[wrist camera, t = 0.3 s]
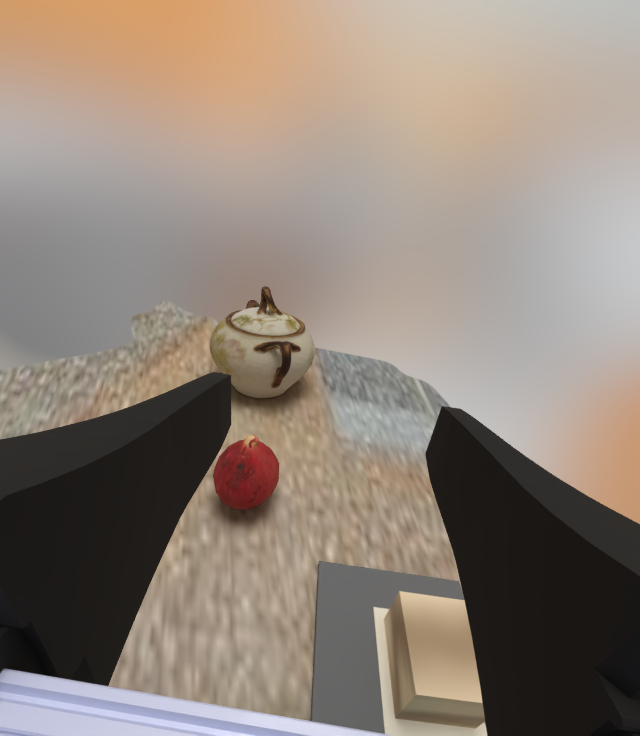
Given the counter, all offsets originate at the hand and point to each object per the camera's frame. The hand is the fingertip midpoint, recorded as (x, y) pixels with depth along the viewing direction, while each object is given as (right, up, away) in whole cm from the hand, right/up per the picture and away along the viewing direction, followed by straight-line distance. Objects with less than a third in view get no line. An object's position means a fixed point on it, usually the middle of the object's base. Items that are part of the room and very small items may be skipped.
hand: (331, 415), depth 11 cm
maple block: (+7, -19, +10) cm, 22 cm away
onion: (-8, -11, +20) cm, 24 cm away
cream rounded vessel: (-10, -1, +38) cm, 39 cm away
